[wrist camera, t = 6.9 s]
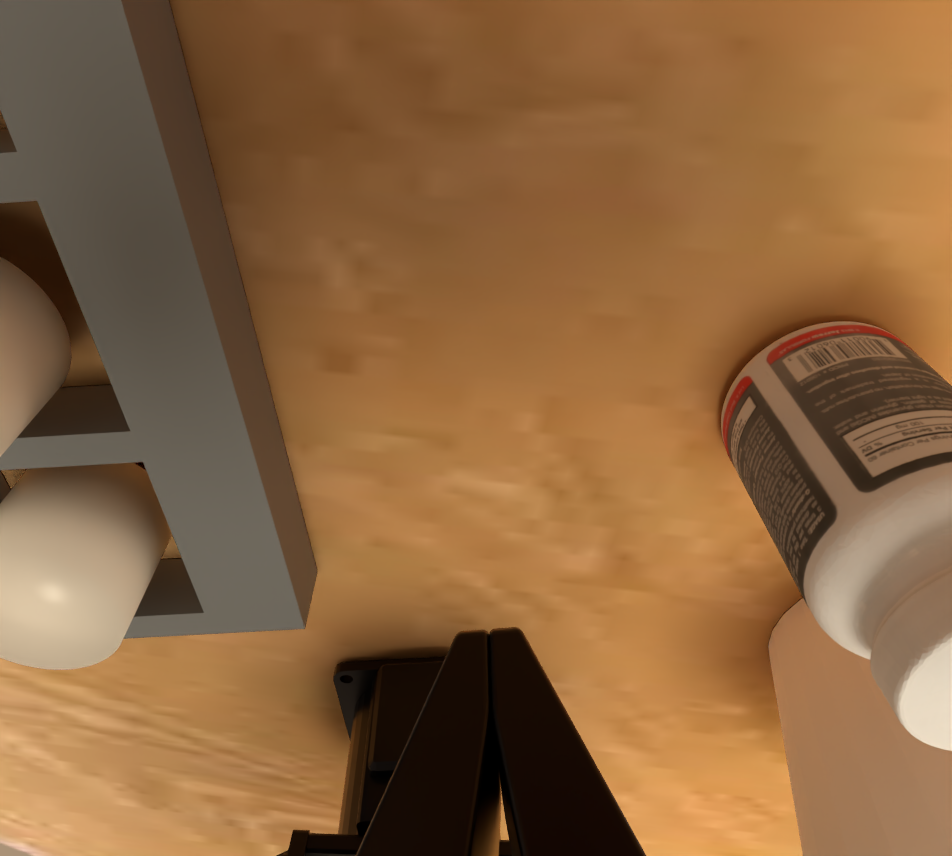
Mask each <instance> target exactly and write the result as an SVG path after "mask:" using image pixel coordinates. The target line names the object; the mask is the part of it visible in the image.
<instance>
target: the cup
mask: <svg viewBox="0 0 952 856" xmlns="http://www.w3.org/2000/svg"><path fill="white" fill-rule="evenodd" d="M768 648H769V657H770V664H771V670H772V675H773V681H774V687H775V693H776V699H777V705H778V711H779V717H780V723H781V728H782V734H783V740H784V746H785V752H786V758H787V764H788V770H789V776H790V782H791V787H792V793H793V799H794V805H795V811H796V817H797V823H798V829H799V835H800V840H801V846H802V852H803V856H952V751H950V750H944V749H940V748H937V747H933V746H930V745H928V744H926V743H923V742H922V741H920V740H919V739H916V738H915V737H914V736H912V735H911V734H910V733H909V732H908V731H907V730H906V729H905V728H904V726H903V725H902V724H901V723H900V721H899V719H898V718H897V716H896V714H895V713H894V711H893V710H892V708H891V706H890V704H889V703H888V701H887V699H886V698H885V696H884V694H883V693H882V691H881V689H880V688H879V686H878V685H877V683H876V682H875V680H874V678H873V676H872V672H871V668H870V660H869V659H866V658H864V657H861V656H859V655H856V654H854V653H852V652H851V651H849V650H847V649H845V648H844V647H842V646H841V645H839V644H838V643H837V642H835V641H834V640H833V639H832V638H831V637H830V636H829V635H828V634H827V633H826V632H825V631H824V630H823V629H822V628H821V627H820V625H819V624H818V622H817V621H816V619H815V618H814V616H813V614H812V612H811V611H810V609H809V608H808V606H807V604H806V602H805V600H804V598H802V599H801V600H799V601H798V602H797V603H796V604H795V605H794V606H792V607H791V608H790V609H789V610H788V611H787V612H786V613H785V614H783V616H782V617H781V619H780V620H779V622H778V623H777V624H776V626H775V627H774V629H773V630H772V634H771V637H770V640H769V644H768Z"/></svg>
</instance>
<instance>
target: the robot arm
mask: <svg viewBox="0 0 952 856" xmlns="http://www.w3.org/2000/svg"><path fill="white" fill-rule="evenodd" d="M334 684H335V687H336V691H337V694H338V698H339V702H340V705H341V709H342V713H343V716H344V720H345V723H346V727H347V731H348V734H349V738H350V748H349V755H348V763H347V770H346V778H345V785H344V793H343V800H342V808H341V815H340V823H339V830H338V834H316V833H310V830H293V833H292V837H291V841H290V846H289V849H288V851H285V852H283V853H281V854H279V855H277V856H646V855H645V853H644V851H643V849H642V847H641V845H640V844H639V842H638V840H637V838H636V836H635V835H634V833H633V831H632V829H631V827H630V826H629V824H628V822H627V820H626V818H625V817H624V815H623V813H622V811H621V809H620V807H619V806H618V804H617V802H616V800H615V798H614V797H613V795H612V793H611V791H610V789H609V788H608V786H607V784H606V782H605V780H604V778H603V777H602V775H601V773H600V771H599V769H598V768H597V766H596V764H595V762H594V760H593V759H592V757H591V755H590V753H589V751H588V749H587V748H586V746H585V744H584V742H583V740H582V739H581V737H580V735H579V733H578V731H577V730H576V728H575V726H574V724H573V722H572V720H571V719H570V717H569V715H568V713H567V711H566V710H565V708H564V706H563V704H562V702H561V701H560V699H559V697H558V695H557V693H556V691H555V690H554V688H553V686H552V684H551V682H550V681H549V679H548V677H547V675H546V673H545V672H544V670H543V668H542V666H541V664H540V662H539V661H538V659H537V657H536V655H535V653H534V652H533V650H532V648H531V646H530V644H529V643H528V641H527V639H526V637H525V635H524V634H523V632H522V631H521V630H520V629H519V628H517V627H511V628H497V629H493V630H491V631H490V633H488V632H487V631H486V630H470V631H461V632H459V633H458V634H457V635H456V636H455V638H454V640H453V642H452V645H451V647H450V649H449V651H448V653H447V656H446V657H435V658H416V659H397V660H378V661H360V662H344V663H340V664H338V665H337V666H336V667H335V671H334ZM501 791H502V799H503V805H504V812H505V819H506V824H507V830H508V835H509V840H501V839H500V820H501Z"/></svg>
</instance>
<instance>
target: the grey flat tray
mask: <svg viewBox="0 0 952 856" xmlns="http://www.w3.org/2000/svg"><path fill="white" fill-rule="evenodd" d="M0 111H1V113H2V115H3V118H4V120H5V123H6V125H7V128H8V129H0V203H11V202H26V201H37V202H38V204H39V207H40V209H41V212H42V214H43V217H44V219H45V222H46V224H47V227H48V229H49V231H50V234H51V236H52V239H53V241H54V244H55V246H56V249H57V251H58V254H59V256H60V259H61V261H62V264H63V266H64V268H65V271H66V273H67V276H68V278H69V281H70V283H71V286H72V288H73V291H74V293H75V296H76V298H77V301H78V303H79V306H80V308H81V310H82V313H83V315H84V318H85V320H86V323H87V325H88V328H89V330H90V333H91V335H92V338H93V340H94V343H95V345H96V347H97V350H98V352H99V355H100V357H101V360H102V362H103V365H104V367H105V370H106V372H107V375H108V377H109V380H110V382H111V384H112V385H97V386H81V387H64V388H59V389H58V390H57V392H56V393H55V394H54V395H53V396H52V397H51V399H50V400H49V401H48V402H47V403H46V404H45V405H44V407H43V408H42V409H41V410H40V411H39V412H38V414H37V415H36V416H35V417H34V418H33V419H32V421H31V422H30V423H29V424H28V425H27V426H26V428H25V429H24V430H23V431H22V432H21V433H20V435H19V436H18V437H17V438H16V439H15V440H14V441H13V443H12V444H11V445H10V446H9V447H8V448H7V450H6V451H5V452H4V453H3V454H2V455H1V457H0V470H14V469H31V468H48V467H65V466H82V465H99V464H116V463H133V462H143V463H144V466H145V468H146V471H147V473H148V476H149V478H150V481H151V483H152V486H153V488H154V491H155V493H156V496H157V498H158V500H159V503H160V505H161V508H162V510H163V513H164V515H165V518H166V520H167V523H168V525H169V528H170V530H171V533H172V535H173V537H174V540H175V542H176V545H177V547H178V550H179V552H180V555H181V557H182V559H164V560H160V562H159V564H158V566H157V568H156V570H155V572H154V574H153V577H152V579H151V581H150V583H149V585H148V587H147V589H146V591H145V594H144V596H143V598H142V600H141V602H140V604H139V606H138V608H137V611H136V613H135V615H134V617H133V619H132V621H131V623H130V625H129V628H128V630H127V632H126V634H125V636H124V638H123V639H126V638H144V637H163V636H181V635H200V634H218V633H237V632H255V631H273V630H292V629H305V626H306V622H307V617H308V613H309V608H310V603H311V599H312V594H313V590H314V585H315V581H316V576H317V568H316V564H315V561H314V557H313V553H312V549H311V545H310V541H309V538H308V534H307V530H306V526H305V522H304V518H303V514H302V511H301V507H300V503H299V499H298V495H297V491H296V488H295V484H294V480H293V476H292V472H291V468H290V464H289V461H288V457H287V453H286V449H285V445H284V441H283V438H282V434H281V430H280V426H279V422H278V418H277V414H276V411H275V407H274V403H273V399H272V395H271V391H270V388H269V384H268V380H267V376H266V372H265V368H264V364H263V361H262V357H261V353H260V349H259V345H258V341H257V338H256V334H255V330H254V326H253V322H252V318H251V314H250V311H249V307H248V303H247V299H246V295H245V291H244V288H243V284H242V280H241V276H240V272H239V268H238V264H237V261H236V257H235V253H234V249H233V245H232V241H231V238H230V234H229V230H228V226H227V222H226V218H225V215H224V211H223V207H222V203H221V199H220V195H219V191H218V188H217V184H216V180H215V176H214V172H213V168H212V165H211V161H210V157H209V153H208V149H207V145H206V141H205V138H204V134H203V130H202V126H201V122H200V118H199V115H198V111H197V107H196V103H195V99H194V95H193V91H192V88H191V84H190V80H189V76H188V72H187V68H186V65H185V61H184V57H183V53H182V49H181V45H180V41H179V38H178V34H177V30H176V26H175V22H174V18H173V15H172V11H171V7H170V3H169V0H0ZM10 491H11V490H10V488H9V486H8V484H7V483H6V481H5V479H4V477H3V475H2V474H1V472H0V503H1V502H2V501H3V499H4V498H5V497H6V496H7V494H8V493H9V492H10Z"/></svg>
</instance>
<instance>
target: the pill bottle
mask: <svg viewBox="0 0 952 856" xmlns="http://www.w3.org/2000/svg"><path fill="white" fill-rule="evenodd" d="M721 432H722V438H723V443H724V445H725V448H726V451H727V454H728V456H729V458H730V460H731V462H732V463H733V465H734V467H735V469H736V471H737V472H738V475H739V477H740V478H741V480H742V482H743V484H744V486H745V488H746V490H747V492H748V494H749V496H750V498H751V499H752V501H753V503H754V505H755V507H756V509H757V511H758V513H759V515H760V517H761V518H762V520H763V522H764V524H765V526H766V528H767V530H768V532H769V534H770V535H771V537H772V539H773V541H774V543H775V545H776V547H777V549H778V551H779V553H780V554H781V556H782V558H783V560H784V562H785V564H786V566H787V568H788V570H789V571H790V573H791V575H792V577H793V580H794V581H795V583H796V585H797V587H798V589H799V591H800V593H801V595H802V597H803V598H804V600H805V602H806V604H807V606H808V608H809V609H810V611H811V612H812V614H813V616H814V618H815V619H816V621H817V622H818V624H819V625H820V627H821V628H822V629H823V630H824V631H825V632H826V633H827V634H828V635H829V636H830V637H831V638H832V639H833V640H834V641H835V642H837V643H838V644H839V645H841V646H842V647H844V648H845V649H847V650H849V651H851V652H852V653H854V654H856V655H859V656H861V657H864V658H866V659H869V660H870V668H871V672H872V676H873V678H874V680H875V682H876V683H877V685H878V686H879V688H880V689H881V691H882V693H883V694H884V696H885V698H886V699H887V701H888V703H889V704H890V706H891V708H892V710H893V711H894V713H895V714H896V716H897V718H898V719H899V721H900V723H901V724H902V725H903V726H904V728H905V729H906V730H907V731H908V732H909V733H910V734H911V735H912V736H914V737H915V738H916V739H919V740H920V741H922V742H923V743H926V744H928V745H930V746H933V747H937V748H940V749H944V750H950V751H952V386H951V385H950V384H949V383H948V382H947V381H945V380H944V379H943V378H942V377H941V376H940V375H939V374H938V373H937V372H936V371H935V370H933V369H932V368H931V367H930V366H929V365H928V364H927V363H926V362H925V361H924V360H923V359H922V358H920V357H919V356H918V355H917V354H916V353H915V352H914V351H913V350H912V349H911V348H910V347H909V346H908V345H906V344H905V343H904V342H903V341H901V340H900V339H899V338H897V337H896V336H895V335H893V334H891V333H890V332H888V331H886V330H883V329H881V328H879V327H876V326H873V325H869V324H865V323H860V322H849V321H836V322H827V323H820V324H816V325H812V326H808V327H805V328H802V329H799V330H797V331H794V332H792V333H790V334H787V335H785V336H783V337H782V338H780V339H778V340H776V341H775V342H773V343H772V344H770V345H769V346H767V347H766V348H765V349H763V350H762V351H761V352H759V353H758V354H757V355H756V356H755V357H754V358H753V359H752V360H750V361H749V362H748V363H747V365H746V366H745V367H744V368H743V369H742V371H741V372H740V373H739V375H738V376H737V377H736V379H735V380H734V382H733V384H732V385H731V387H730V389H729V391H728V393H727V396H726V399H725V402H724V405H723V409H722V415H721Z"/></svg>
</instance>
